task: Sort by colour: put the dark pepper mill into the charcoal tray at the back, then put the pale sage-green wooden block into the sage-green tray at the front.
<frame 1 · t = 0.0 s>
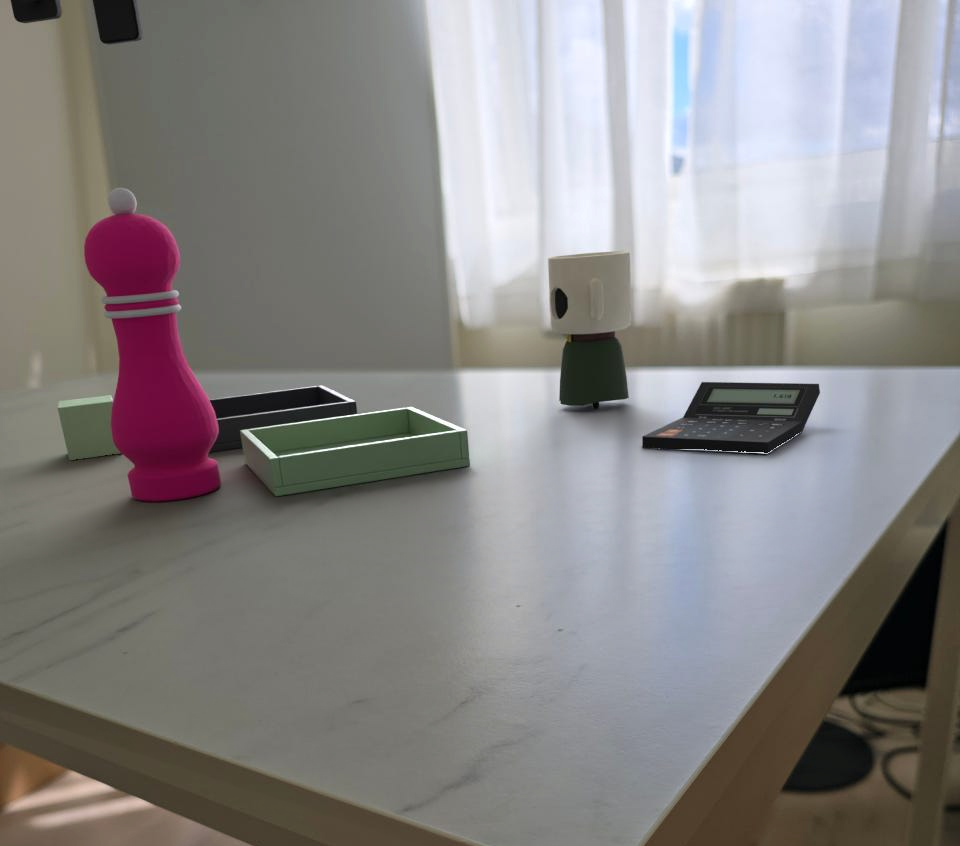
hand: (83, 31, 70), 30 cm above the table, tool pointing down, fingers open, 9 cm apart
sage block: (96, 452, 90), on the table
character mug: (593, 408, 93), on the table
calculator: (732, 437, 77), on the table
dark tray: (266, 431, 94), on the table
pepper mill: (177, 493, 73), on the table
sage tray: (352, 464, 77), on the table
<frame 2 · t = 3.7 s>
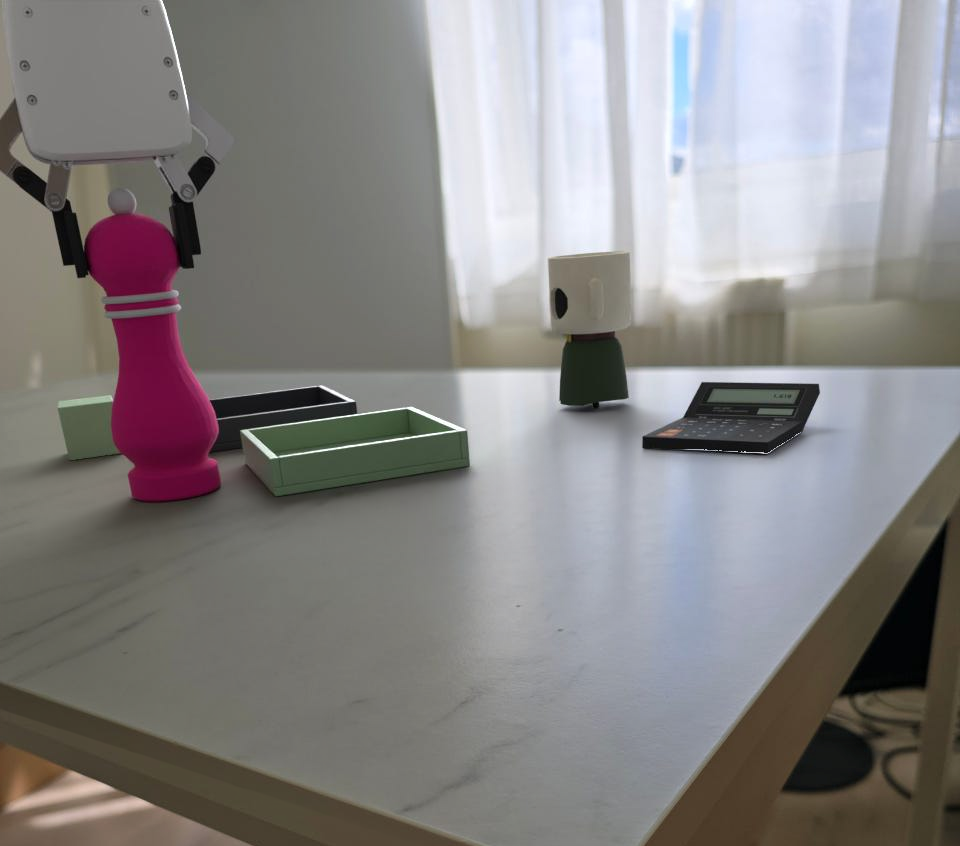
hand: (135, 270, 68), 15 cm above the table, tool pointing down, fingers closed on pepper mill, 6 cm apart
pepper mill: (177, 493, 73), on the table, touching gripper
everything else where it was.
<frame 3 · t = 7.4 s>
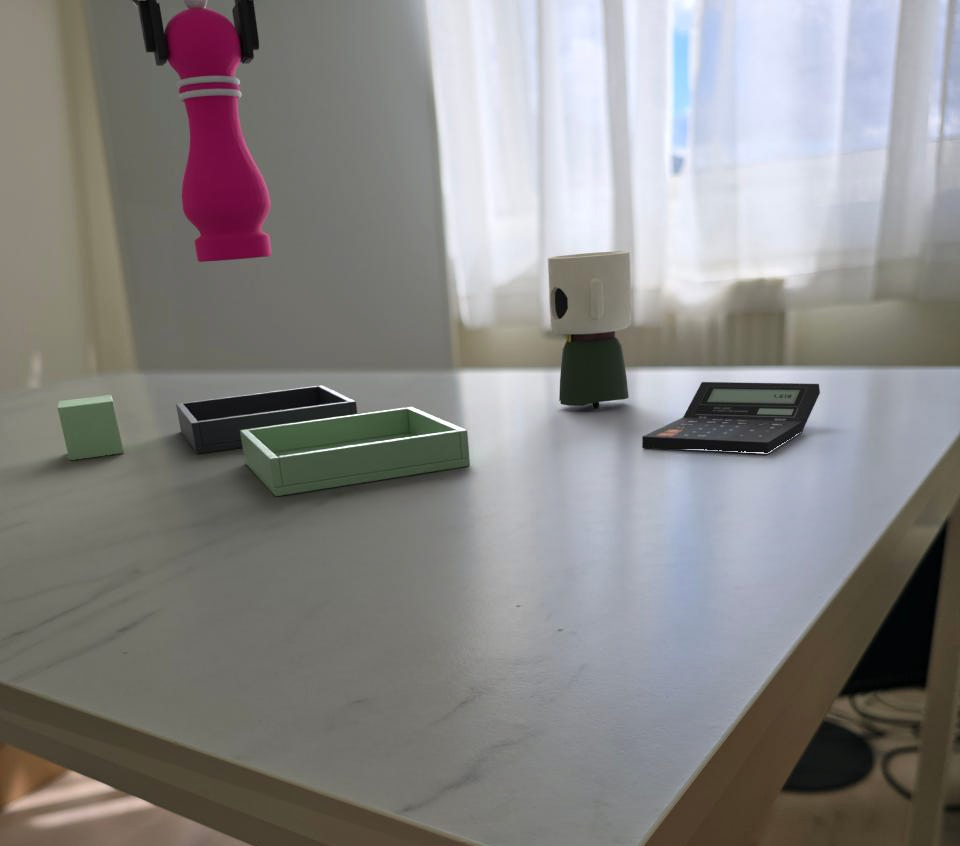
hand: (204, 59, 81), 30 cm above the table, tool pointing down, fingers closed on pepper mill, 6 cm apart
pepper mill: (235, 261, 87), point 15 cm above the table, touching gripper
everything else where it was.
when the fingers open (16 cm above the table, at t = 11.1 s): pepper mill stays where it is, resting on dark tray.
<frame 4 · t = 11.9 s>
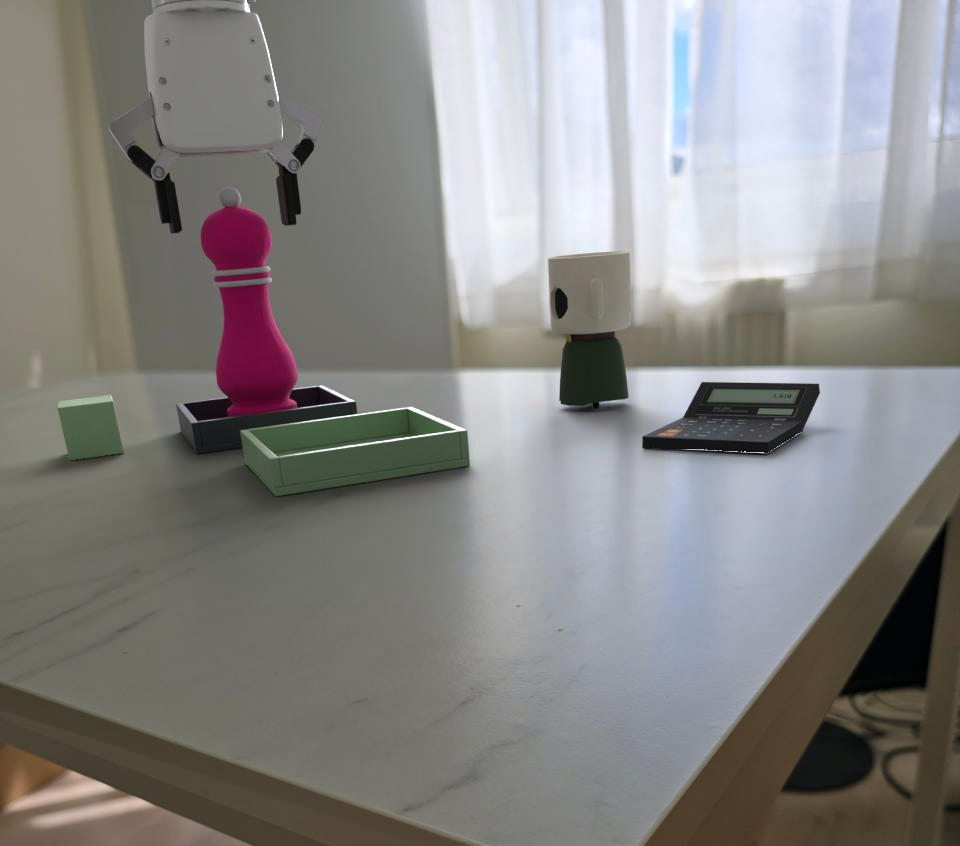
hand: (233, 228, 87), 17 cm above the table, tool pointing down, fingers open, 9 cm apart
pepper mill: (265, 426, 94), resting on dark tray
everything else where it was.
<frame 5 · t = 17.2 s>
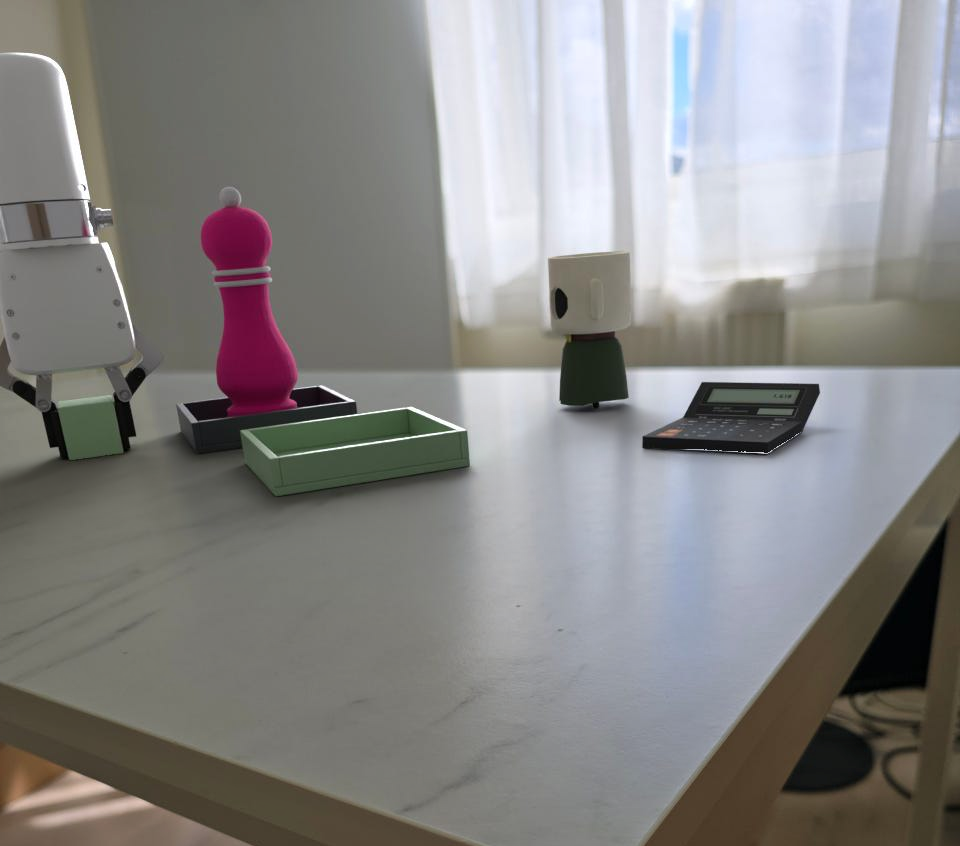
hand: (95, 448, 90), 0 cm above the table, tool pointing down, fingers closed on sage block, 4 cm apart
sage block: (96, 452, 90), on the table, touching gripper
everything else where it was.
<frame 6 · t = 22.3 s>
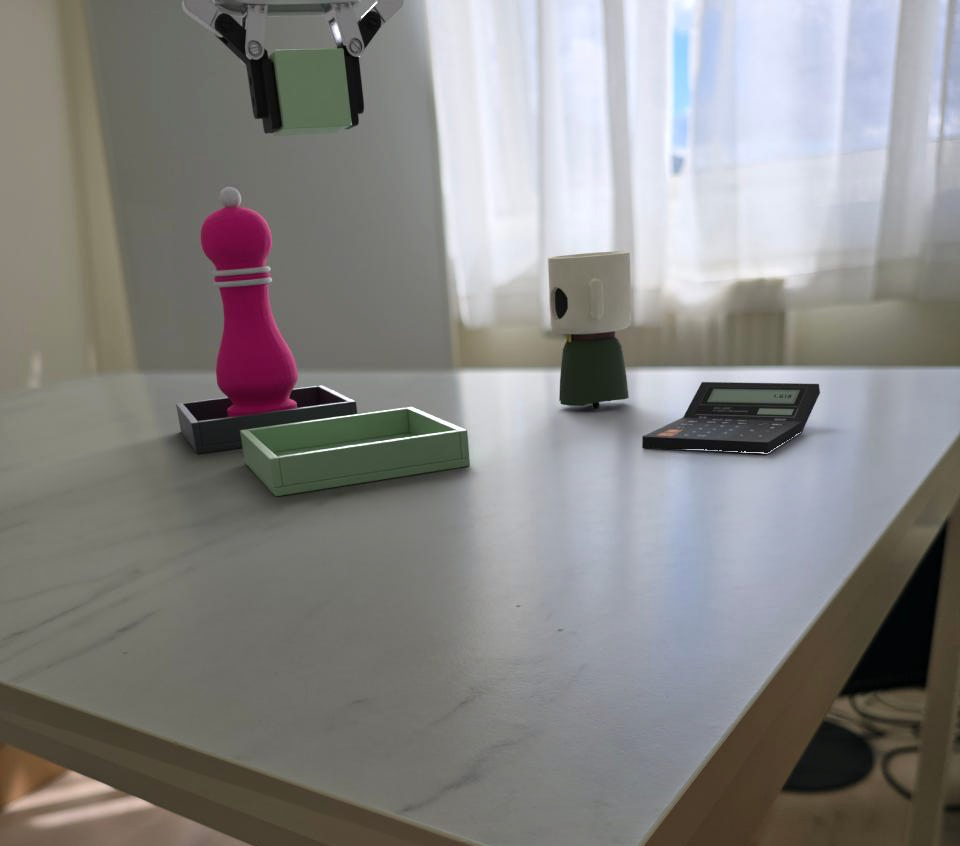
hand: (311, 125, 69), 23 cm above the table, tool pointing down, fingers closed on sage block, 4 cm apart
sage block: (311, 131, 69), point 23 cm above the table, touching gripper
everything else where it was.
when the fingers open (1 cm above the table, at t = 27.5 s): sage block stays where it is, resting on sage tray.
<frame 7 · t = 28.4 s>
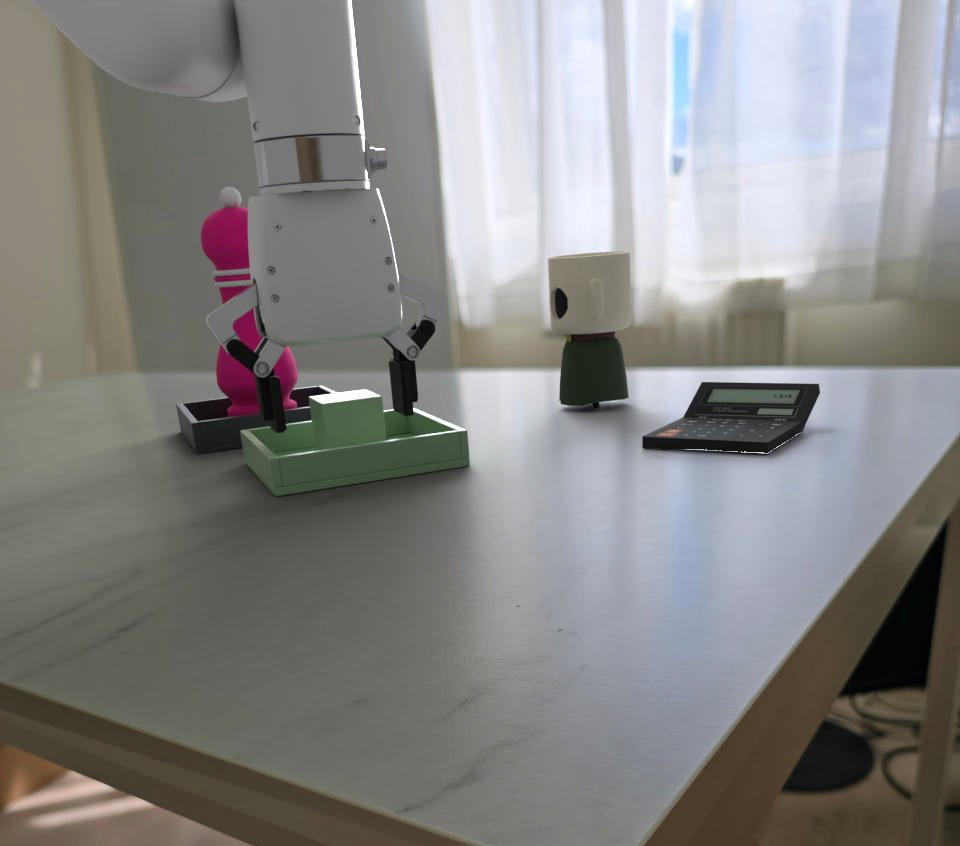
hand: (342, 421, 76), 3 cm above the table, tool pointing down, fingers open, 9 cm apart
sage block: (351, 456, 77), point 1 cm above the table, touching sage tray
everything else where it was.
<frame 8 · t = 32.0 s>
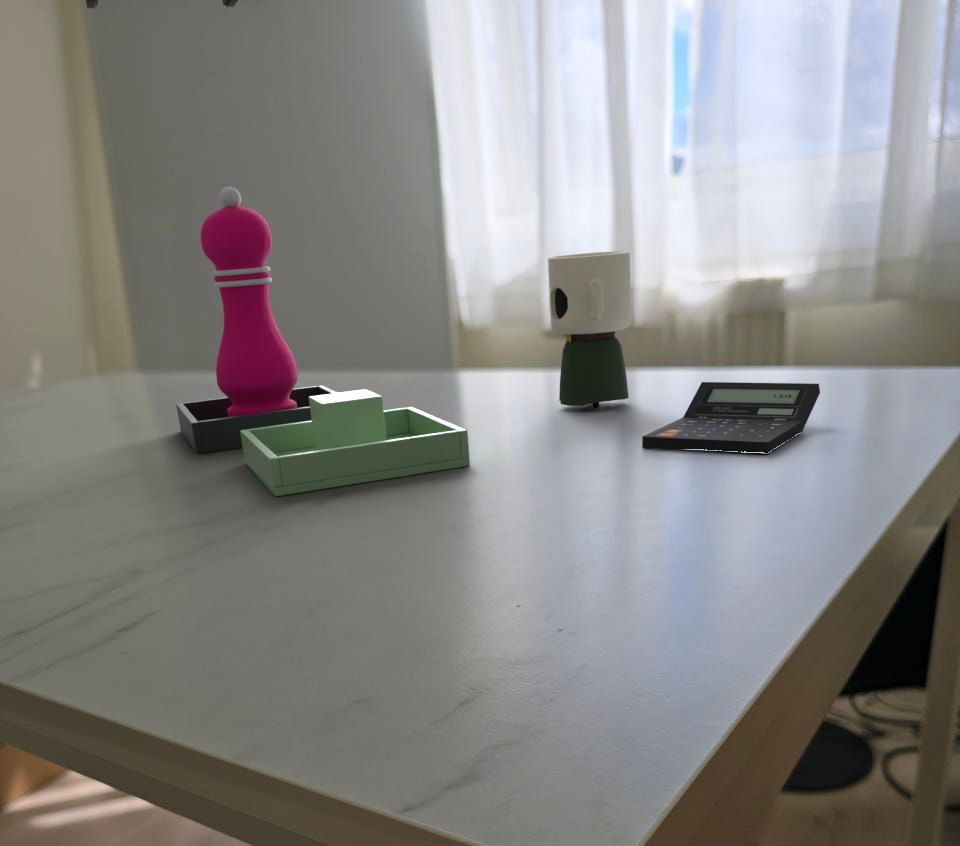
hand: (163, 3, 73), 32 cm above the table, tool pointing down, fingers open, 9 cm apart
nothing on the table moved.
at the end: pepper mill inside the target area in the dark tray (0.1 cm from its centre), point 0.4 cm above the dark tray's base; pepper mill tilted 0°; sage block inside the target area in the sage tray (0.0 cm from its centre), point 0.6 cm above the sage tray's base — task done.
